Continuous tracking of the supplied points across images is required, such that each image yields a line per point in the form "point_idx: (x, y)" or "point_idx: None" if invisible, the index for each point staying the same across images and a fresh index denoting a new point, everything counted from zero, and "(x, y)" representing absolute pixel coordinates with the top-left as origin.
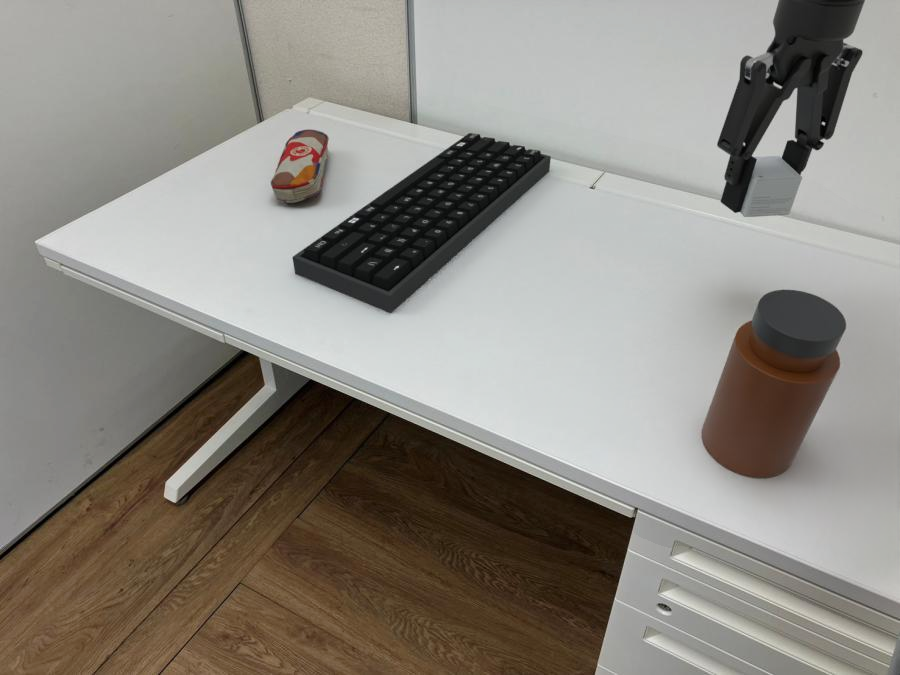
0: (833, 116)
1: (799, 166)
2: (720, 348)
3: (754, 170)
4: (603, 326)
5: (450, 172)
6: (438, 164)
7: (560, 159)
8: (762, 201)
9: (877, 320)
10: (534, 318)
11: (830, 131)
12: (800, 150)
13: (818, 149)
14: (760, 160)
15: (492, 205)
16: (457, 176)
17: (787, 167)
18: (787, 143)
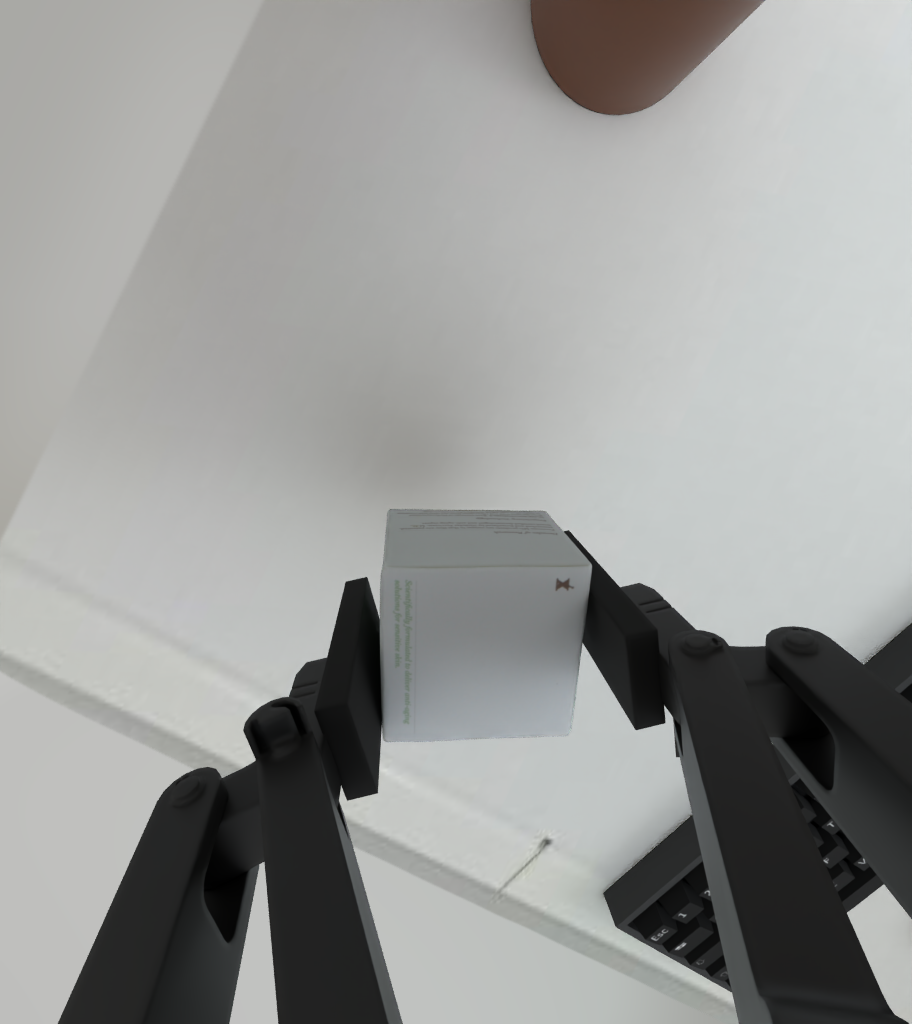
0: (157, 901)
1: (349, 654)
2: (529, 319)
3: (560, 634)
4: (720, 422)
5: (838, 871)
6: (849, 895)
7: (565, 929)
8: (514, 526)
9: (129, 358)
10: (828, 463)
11: (179, 809)
12: (353, 714)
13: (276, 701)
14: (487, 709)
15: (796, 775)
16: (833, 858)
17: (406, 650)
18: (376, 779)
